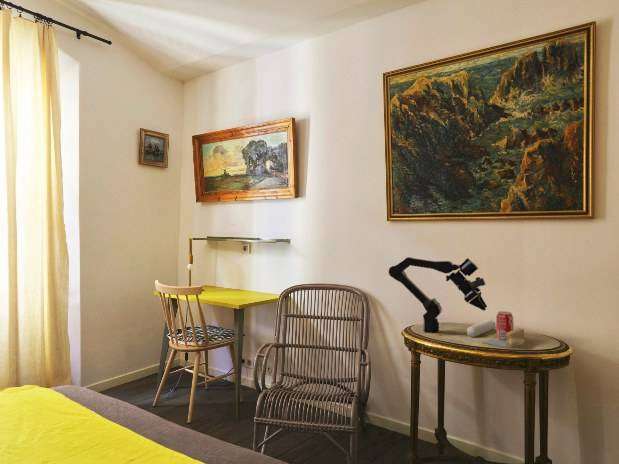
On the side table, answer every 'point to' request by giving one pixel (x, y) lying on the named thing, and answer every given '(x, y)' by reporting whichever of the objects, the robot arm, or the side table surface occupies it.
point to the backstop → (514, 338)
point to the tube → (481, 328)
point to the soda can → (504, 324)
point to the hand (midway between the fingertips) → (485, 308)
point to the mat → (495, 342)
